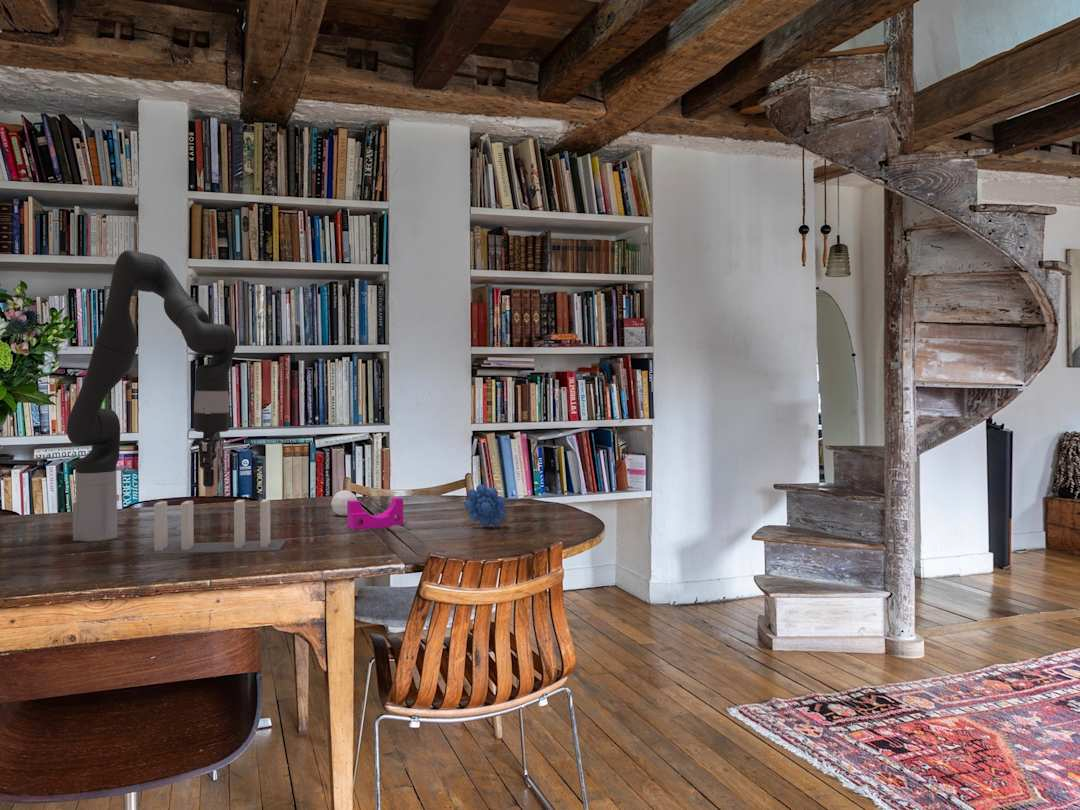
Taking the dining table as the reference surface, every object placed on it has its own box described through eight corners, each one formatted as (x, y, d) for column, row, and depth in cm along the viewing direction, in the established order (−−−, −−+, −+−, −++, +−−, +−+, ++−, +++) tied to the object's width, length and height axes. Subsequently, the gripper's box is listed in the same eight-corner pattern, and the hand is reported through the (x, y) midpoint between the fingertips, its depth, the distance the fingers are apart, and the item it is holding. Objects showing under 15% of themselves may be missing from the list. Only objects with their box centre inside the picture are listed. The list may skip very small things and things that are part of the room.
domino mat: (135, 555, 190) (135, 554, 190) (150, 545, 202) (150, 544, 202) (279, 551, 195) (279, 549, 195) (285, 541, 207) (285, 540, 207)
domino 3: (205, 496, 186) (205, 448, 186) (210, 493, 191) (210, 446, 191) (212, 496, 186) (212, 448, 186) (217, 493, 191) (217, 446, 191)
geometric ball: (345, 519, 242) (345, 492, 242) (325, 517, 246) (325, 490, 246) (363, 515, 249) (363, 489, 249) (343, 513, 253) (343, 487, 253)
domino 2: (181, 549, 195) (180, 503, 195) (186, 545, 200) (186, 500, 200) (188, 549, 195) (188, 503, 195) (193, 545, 200) (193, 500, 200)
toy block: (352, 530, 224) (352, 503, 224) (347, 527, 230) (347, 500, 230) (405, 526, 231) (405, 500, 231) (399, 523, 236) (399, 497, 236)
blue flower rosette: (465, 530, 224) (465, 486, 223) (464, 526, 230) (464, 483, 230) (507, 529, 225) (507, 485, 225) (505, 525, 232) (505, 483, 231)
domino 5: (260, 547, 198) (260, 502, 198) (263, 543, 203) (263, 499, 203) (267, 547, 198) (267, 501, 198) (270, 543, 203) (270, 498, 203)
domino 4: (234, 548, 197) (234, 502, 197) (238, 544, 202) (238, 499, 202) (241, 548, 197) (241, 502, 197) (245, 544, 202) (244, 499, 202)
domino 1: (154, 550, 194) (154, 504, 194) (160, 546, 199) (160, 501, 198) (161, 550, 194) (161, 504, 194) (167, 546, 199) (167, 501, 199)
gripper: (202, 409, 195) (202, 481, 195) (186, 411, 180) (185, 489, 181) (235, 409, 196) (235, 480, 196) (221, 412, 182) (221, 488, 182)
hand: (211, 484), depth 189 cm, fingers closed on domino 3, 5 cm apart
